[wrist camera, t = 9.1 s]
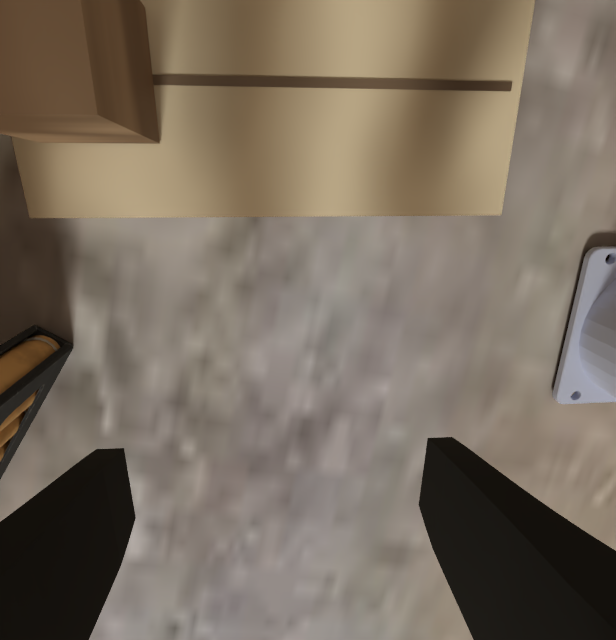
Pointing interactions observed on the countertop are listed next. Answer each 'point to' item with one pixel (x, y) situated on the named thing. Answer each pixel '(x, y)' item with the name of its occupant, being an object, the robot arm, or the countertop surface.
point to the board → (307, 114)
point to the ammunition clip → (26, 383)
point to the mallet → (76, 72)
